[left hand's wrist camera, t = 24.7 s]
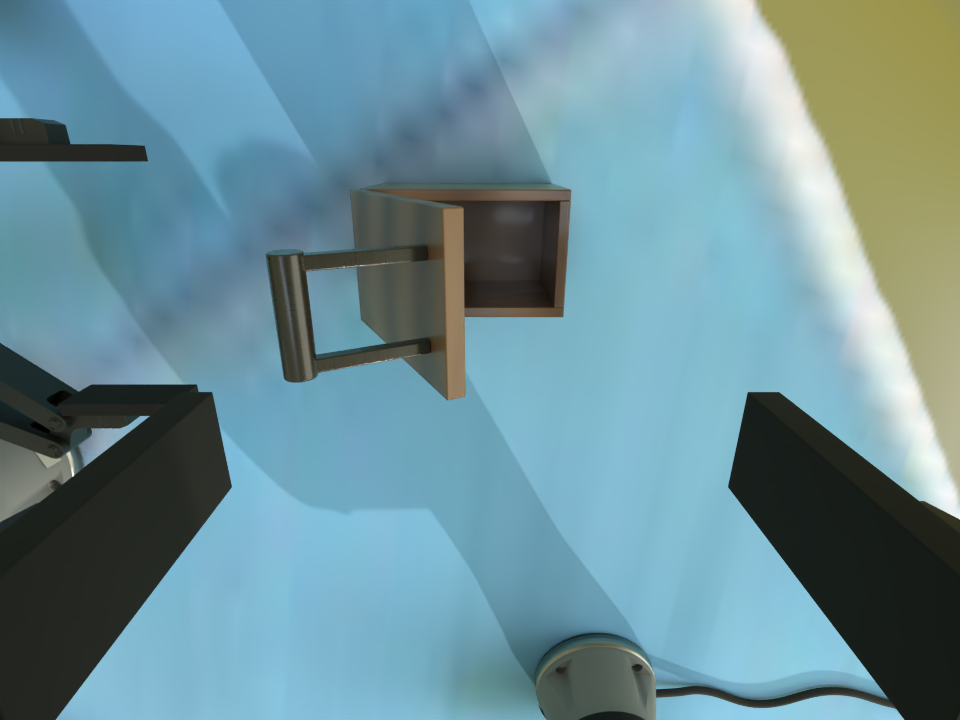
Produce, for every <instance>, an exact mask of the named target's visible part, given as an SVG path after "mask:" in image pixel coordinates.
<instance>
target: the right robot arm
mask: <svg viewBox="0 0 960 720" xmlns="http://www.w3.org/2000/svg"><path fill="white" fill-rule="evenodd" d="M0 161H148V159H147V155H146V150H145V146H137V145H112V144H70V141H69V137H68V133H67V129H66V126H65V125H64V124H62V123H59V122H57V121H54V120H43V119H32V118H12V119H11V118H0ZM181 392H198V388H197V385H90V386H88V387H87V388H85V389H83V390H81V391H80V392H78V391H77V390H75V389H73V388H72V387H70V386H68V385H67V384H65V383H64V382H62V381H60V380H59V379H57V378H56V377H54V376H52V375H51V374H49V373H48V372H46V371H44V370H43V369H41V368H39V367H38V366H36V365H35V364H33V363H31V362H30V361H28V360H27V359H25V358H23V357H22V356H20V355H19V354H17V353H15V352H14V351H12V350H10V349H9V348H7V347H6V346H4V345H2V344H1V343H0V522H1V521H3V520H5V519H7V518H9V517H11V516H13V515H14V514H16V513H18V512H20V511H22V510H24V509H26V508H28V507H30V506H32V505H34V504H36V503H39V502H40V501H42V500H43V499H44V498H46V497H47V496H48V495H49V494H51V493H52V492H53V491H55V490H56V489H57V488H58V487H60V486H61V485H62V484H64V483H65V482H66V481H67V480H69V479H70V478H71V477H73V476H74V475H75V474H76V473H78V472H79V471H80V470H82V469H83V464H82V459H81V455H80V452H79V450H78V447H77V446H78V445H79V444H81V443H82V442H83V441H85V440H86V439H87V438H89V437H90V436H91V434H92V430H91V428H122V427H125V426H127V425H129V424H130V423H131V422H133V421H134V420H135V419H137V418H138V417H139V416H151V415H152V414H154V413H155V412H156V411H157V410H159V409H160V408H161V407H163V406H164V405H165V404H166V403H168V402H169V401H170V400H172V399H173V398H174V397H175V396H177V395H178V394H179V393H181ZM58 408H59V409H58Z"/></svg>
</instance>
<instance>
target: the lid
mask: <svg viewBox="0 0 960 720" xmlns="http://www.w3.org/2000/svg"><path fill="white" fill-rule="evenodd" d="M350 196H351V207H352V219H353V231H354V243H355V249H352V250H339V251H325V252H312V253H303V251H301V250H294V249H285V250H275V251H270V252H267V253H266V261H267V268H268V275H269V282H270V288H271V295H272V302H273V309H274V315H275V322H276V329H277V335H278V342H279V349H280V356H281V362H282V369H283V376H284V379H285V380H286V381H288V382H305V381H309V380H312V379H314V378H316V377H317V376H318V373H319V372H325V371H331V370H337V369H342V368H348V367H354V366H360V365H365V364H371V363H377V362H382V361H388V360H394V359H400V358H403V359H404V360H405V361H406V362H407V363H408V364H409V365H410V366H411V367H412V368H413V369H414V370H415V371H416V372H418V373H419V374H420V375H421V376H422V377H423V378H424V379H425V380H426V381H427V382H428V383H429V384H430V385H431V386H432V387H434V388H435V389H436V390H437V391H438V392H439V393H440V394H441V395H442V396H443V397H444V398H445V399H446V400H452V399H456V398H461V397H465V322H464V213H463V207H461V206H455V205H449V204H443V203H438V202H432V201H426V200H421V199H415V198H409V197H404V196H398V195H392V194H386V193H381V192H375V191H369V190H350ZM349 267H357V278H358V290H359V301H360V313H361V320H362V321H363V322H364V323H365V324H366V325H367V326H368V327H369V328H371V329H372V330H373V331H374V332H375V333H376V334H377V335H378V336H379V337H380V338H381V339H382V340H383V341H384V342H385V343H387V344H381V345H375V346H368V347H362V348H356V349H350V350H343V351H337V352H331V353H325V354H318V355H316V351H315V343H314V334H313V326H312V318H311V310H310V302H309V293H308V285H307V277H306V271H315V270H326V269H338V268H349Z"/></svg>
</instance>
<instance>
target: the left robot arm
mask: <svg viewBox="0 0 960 720" xmlns="http://www.w3.org/2000/svg"><path fill="white" fill-rule="evenodd" d="M231 487H232V485H231V480H230V476H229V471H228V466H227V461H226V456H225V452H224V447H223V442H222V437H221V432H220V428H219V423H218V418H217V413H216V408H215V404H214V399H213V394H212V392H181V393H179V394H178V395H177V396H175V397H174V398H173V399H172V400H170V401H169V402H168V403H166V404H165V405H164V406H163V407H161V408H160V409H159V410H157V411H156V412H155V413H154V414H152V415H151V416H150V417H148V418H147V419H146V420H145V421H143V422H142V423H141V424H139V425H138V426H137V427H136V428H134V429H133V430H132V431H130V432H129V433H128V434H127V435H125V436H124V437H123V438H121V439H120V440H119V441H118V442H116V443H115V444H114V445H112V446H111V447H110V448H109V449H107V450H106V451H105V452H103V453H102V454H101V455H100V456H98V457H97V458H96V459H94V460H93V461H92V462H91V463H89V464H88V465H87V466H85V467H84V468H83V469H82V470H80V471H79V472H78V473H76V474H75V475H74V476H73V477H71V478H70V479H69V480H67V481H66V482H65V483H64V484H62V485H61V486H60V487H58V488H57V489H56V490H55V491H53V492H52V493H51V494H49V495H48V496H47V497H46V498H44V499H43V500H42V501H40V502H39V503H36V504H34V505H32V506H30V507H28V508H26V509H24V510H22V511H20V512H18V513H16V514H14V515H13V516H11V517H9V518H7V519H5V520H3V521H1V522H0V720H56V718H57V717H58V716H59V714H60V713H61V712H62V710H63V709H64V708H65V707H66V705H67V704H68V703H69V701H70V700H71V699H72V697H73V696H74V695H75V693H76V692H77V691H78V689H79V688H80V687H81V685H82V684H83V683H84V681H85V680H86V679H87V677H88V676H89V675H90V674H91V672H92V671H93V670H94V668H95V667H96V666H97V664H98V663H99V662H100V660H101V659H102V658H103V656H104V655H105V654H106V652H107V651H108V650H109V648H110V647H111V646H112V644H113V643H114V642H115V641H116V639H117V638H118V637H119V635H120V634H121V633H122V631H123V630H124V629H125V627H126V626H127V625H128V623H129V622H130V621H131V619H132V618H133V617H134V615H135V614H136V613H137V612H138V610H139V609H140V608H141V606H142V605H143V604H144V602H145V601H146V600H147V598H148V597H149V596H150V594H151V593H152V592H153V590H154V589H155V588H156V586H157V585H158V584H159V582H160V581H161V580H162V579H163V577H164V576H165V575H166V573H167V572H168V571H169V569H170V568H171V567H172V565H173V564H174V563H175V561H176V560H177V559H178V557H179V556H180V555H181V553H182V552H183V551H184V550H185V548H186V547H187V546H188V544H189V543H190V542H191V540H192V539H193V538H194V536H195V535H196V534H197V532H198V531H199V530H200V528H201V527H202V526H203V524H204V523H205V522H206V520H207V519H208V518H209V517H210V515H211V514H212V513H213V511H214V510H215V509H216V507H217V506H218V505H219V503H220V502H221V501H222V499H223V498H224V497H225V495H226V494H227V493H228V491H229V490H230V489H231ZM728 487H729V489H730V490H731V491H732V493H733V494H734V495H735V497H736V498H737V499H738V501H739V502H740V503H741V505H742V506H743V507H744V509H745V510H746V511H747V513H748V514H749V515H750V517H751V518H752V519H753V520H754V522H755V523H756V524H757V526H758V527H759V528H760V530H761V531H762V532H763V534H764V535H765V536H766V538H767V539H768V540H769V542H770V543H771V544H772V546H773V547H774V548H775V550H776V551H777V552H778V553H779V555H780V556H781V557H782V559H783V560H784V561H785V563H786V564H787V565H788V567H789V568H790V569H791V571H792V572H793V573H794V575H795V576H796V577H797V579H798V580H799V581H800V582H801V584H802V585H803V586H804V588H805V589H806V590H807V592H808V593H809V594H810V596H811V597H812V598H813V600H814V601H815V602H816V604H817V605H818V606H819V608H820V609H821V610H822V612H823V613H824V614H825V615H826V617H827V618H828V619H829V621H830V622H831V623H832V625H833V626H834V627H835V629H836V630H837V631H838V633H839V634H840V635H841V637H842V638H843V639H844V641H845V642H846V643H847V644H848V646H849V647H850V648H851V650H852V651H853V652H854V654H855V655H856V656H857V658H858V659H859V660H860V662H861V663H862V664H863V666H864V667H865V668H866V670H867V671H868V672H869V674H870V675H871V676H872V677H873V679H874V680H875V681H876V683H877V684H878V685H879V687H880V688H881V689H882V691H883V692H884V693H885V695H886V696H887V697H888V699H889V700H888V699H884V698H880V697H877V696H874V695H871V694H868V693H864V692H861V691H857V690H853V689H848V688H839V687H823V688H816V689H810V690H806V691H802V692H799V693H795V694H792V695H788V696H784V697H780V698H776V699H769V700H751V699H744V698H740V697H737V696H733V695H731V694H728V693H725V692H722V691H719V690H716V689H712V688H707V687H700V686H690V687H682V688H673V689H656V679H655V675H654V673H653V670H652V667H651V664H650V661H649V659H648V657H647V655H646V654H645V653H644V652H643V650H642V649H640V648H639V647H638V646H637V645H635V644H634V643H632V642H630V641H628V640H626V639H623V638H620V637H617V636H612V635H604V634H592V635H584V636H579V637H575V638H572V639H569V640H567V641H564V642H562V643H560V644H559V645H557V646H555V647H554V648H553V649H551V650H550V651H549V652H548V653H547V654H546V655H545V656H544V657H543V658H542V660H541V661H540V663H539V665H538V667H537V670H536V675H535V682H536V691H537V698H538V701H539V704H540V706H541V708H542V709H541V708H540V710H541V712H542V714H543V715H544V717H545V718H546V720H656V698H657V697H674V696H684V695H691V694H703V695H710V696H714V697H718V698H721V699H724V700H727V701H729V702H732V703H735V704H739V705H742V706H747V707H754V708H770V707H778V706H783V705H787V704H791V703H794V702H798V701H801V700H805V699H809V698H813V697H818V696H825V695H844V696H852V697H856V698H860V699H864V700H867V701H870V702H873V703H877V704H880V705H883V706H887V707H891V708H895V709H897V710H898V712H899V713H900V714H901V716H902V717H903V718H904V720H960V520H959V519H958V518H956V517H954V516H952V515H950V514H948V513H946V512H944V511H942V510H940V509H938V508H936V507H934V506H932V505H930V504H928V503H927V502H925V501H918V500H917V499H916V498H914V497H913V496H912V495H911V494H909V493H908V492H907V491H905V490H904V489H903V488H902V487H900V486H899V485H898V484H896V483H895V482H894V481H893V480H891V479H890V478H889V477H887V476H886V475H885V474H884V473H882V472H881V471H880V470H878V469H877V468H876V467H875V466H873V465H872V464H871V463H869V462H868V461H867V460H866V459H864V458H863V457H862V456H860V455H859V454H858V453H857V452H855V451H854V450H853V449H851V448H850V447H849V446H848V445H846V444H845V443H844V442H842V441H841V440H840V439H839V438H837V437H836V436H835V435H833V434H832V433H831V432H830V431H828V430H827V429H826V428H824V427H823V426H822V425H821V424H819V423H818V422H817V421H815V420H814V419H813V418H812V417H810V416H809V415H808V414H806V413H805V412H804V411H803V410H801V409H800V408H799V407H797V406H796V405H795V404H794V403H792V402H791V401H790V400H788V399H787V398H786V397H785V396H783V395H782V394H781V393H779V392H748V394H747V399H746V404H745V408H744V413H743V418H742V423H741V428H740V432H739V437H738V442H737V447H736V452H735V456H734V461H733V466H732V471H731V476H730V480H729V485H728ZM540 706H539V707H540ZM542 710H543V711H542Z"/></svg>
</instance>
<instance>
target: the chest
mask: <svg viewBox="0 0 960 720" xmlns="http://www.w3.org/2000/svg"><path fill="white" fill-rule="evenodd" d="M360 190H369V191H375V192H381V193H386V194H392V195H398V196H404V197H409V198H415V199H421V200H426V201H432V202H438V203H443V204H449V205H455V206H461V207H463V213H464V317H563V313H564V298H565V282H566V266H567V250H568V235H569V219H570V203H571V201H570V200H571V190H570V189H567V188H564V187H561V186H558V185H555V184H547V183H383V184H379V185H375V186H371V187H367V188H363V189H360Z"/></svg>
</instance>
